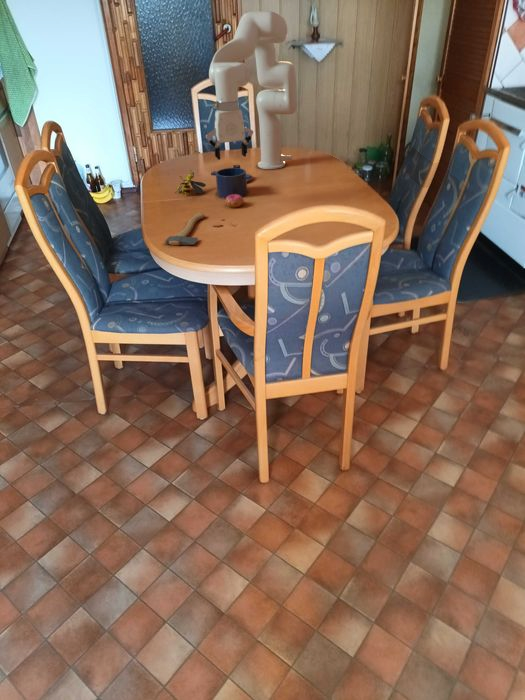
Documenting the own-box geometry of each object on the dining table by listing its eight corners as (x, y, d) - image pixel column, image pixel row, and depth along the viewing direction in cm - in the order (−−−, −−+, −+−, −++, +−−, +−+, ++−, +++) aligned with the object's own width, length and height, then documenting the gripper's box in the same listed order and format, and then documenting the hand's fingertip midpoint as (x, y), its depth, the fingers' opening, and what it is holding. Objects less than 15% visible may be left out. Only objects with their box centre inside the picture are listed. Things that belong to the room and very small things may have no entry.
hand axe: (193, 242, 170) (164, 240, 172) (194, 247, 170) (165, 245, 173) (217, 212, 191) (191, 211, 193) (218, 217, 192) (191, 216, 194)
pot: (221, 186, 220) (219, 166, 215) (258, 191, 214) (257, 170, 209) (206, 195, 212) (204, 174, 207) (244, 200, 205) (242, 178, 200)
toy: (162, 181, 205) (180, 167, 216) (166, 202, 210) (184, 187, 221) (189, 184, 201) (206, 169, 212) (192, 204, 207) (209, 189, 217)
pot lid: (232, 174, 234) (230, 160, 230) (257, 177, 229) (257, 163, 225) (217, 183, 225) (215, 168, 221) (243, 186, 220) (242, 171, 216)
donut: (241, 201, 205) (240, 191, 202) (246, 207, 199) (245, 197, 197) (223, 204, 203) (222, 194, 201) (227, 209, 197) (227, 200, 195)
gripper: (205, 110, 178) (210, 162, 187) (254, 105, 182) (257, 156, 191) (200, 106, 184) (205, 157, 193) (248, 102, 188) (250, 152, 197)
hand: (231, 157), depth 192 cm, fingers open, 9 cm apart
